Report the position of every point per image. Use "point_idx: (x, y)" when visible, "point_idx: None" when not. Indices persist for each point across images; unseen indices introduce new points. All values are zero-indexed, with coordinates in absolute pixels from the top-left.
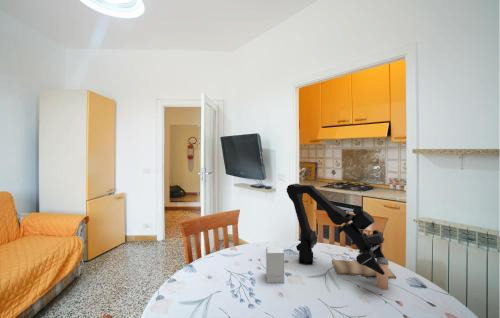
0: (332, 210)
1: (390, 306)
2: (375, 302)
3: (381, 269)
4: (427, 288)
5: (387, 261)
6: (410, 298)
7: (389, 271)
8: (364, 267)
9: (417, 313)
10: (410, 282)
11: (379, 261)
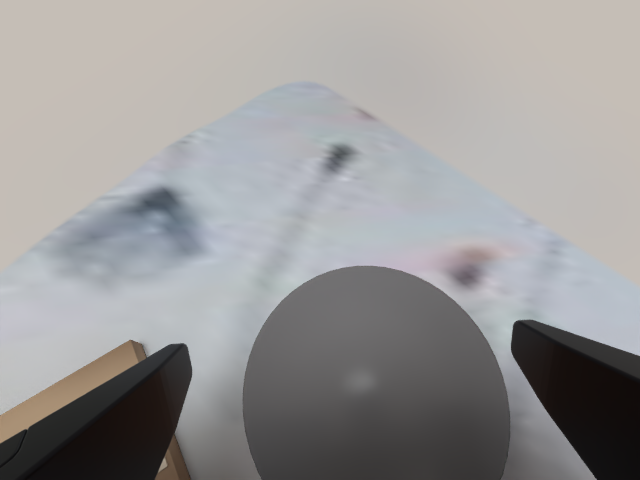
0: None
1: (560, 297)
2: None
3: (603, 344)
4: (177, 182)
5: (386, 270)
6: (362, 229)
7: (44, 410)
8: None
9: (484, 187)
10: (147, 257)
11: (499, 422)
